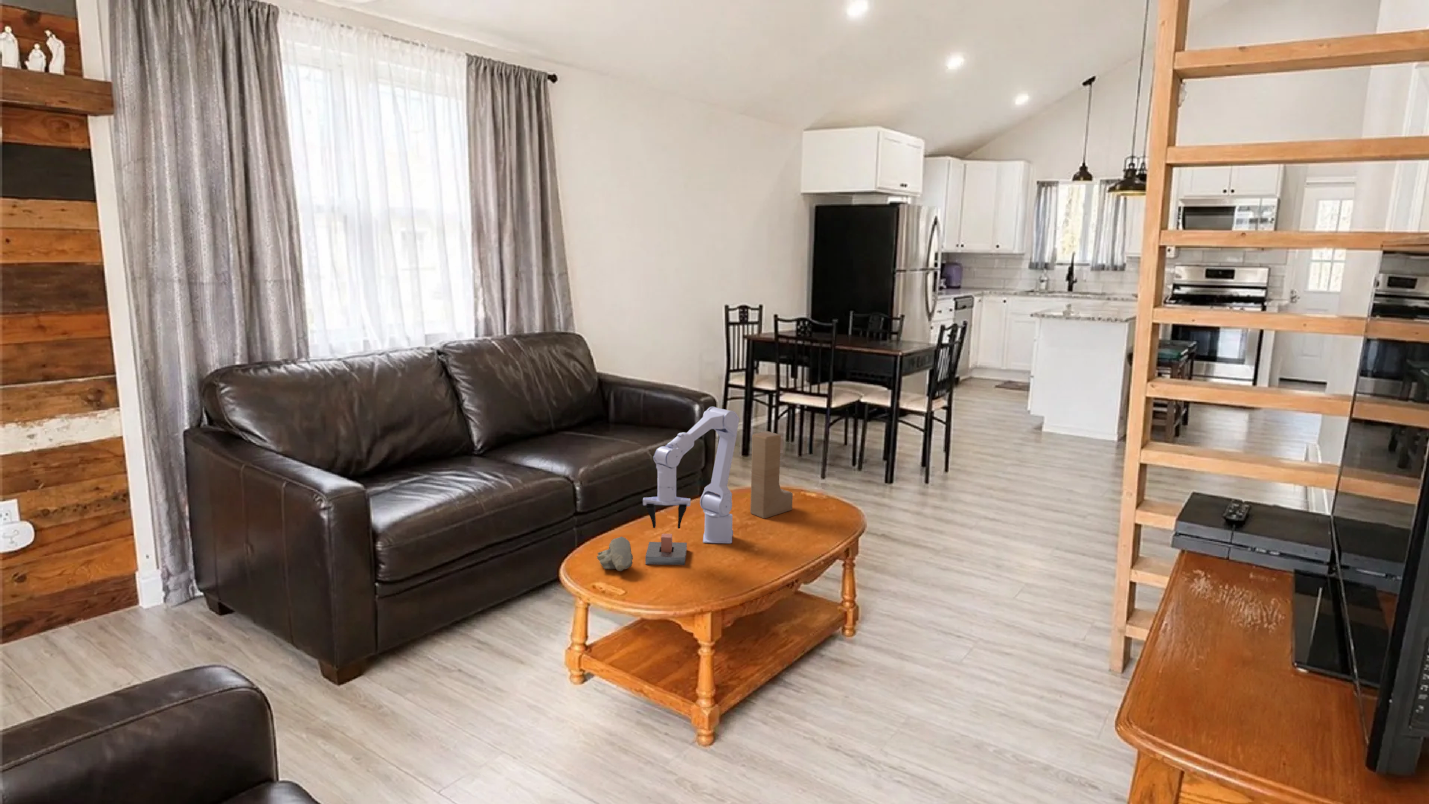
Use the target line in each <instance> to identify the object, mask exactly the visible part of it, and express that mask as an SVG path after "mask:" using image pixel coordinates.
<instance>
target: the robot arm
mask: <svg viewBox="0 0 1429 804" xmlns="http://www.w3.org/2000/svg"><path fill="white" fill-rule="evenodd" d="M739 423H740V417H739V416H738V414H737V412H736V411H735V410H729V409H724V408H720V407H716V406H709V407H708V408H707V409H706V410H705V411H704V412H703V415H702V417H701V418H700V419H699V420H698V422H696V423H695V424H694V425H693V426H692V427H691V428H690V429H689V430H688V431H687V432H679V433H677V435H676V437H674V438H673V439H672V440H671V441H670V442H668V443H667V444H665V446H664V445H663V446H659V447H658V448H656V450H655V452H654V454H653V456H652V459H653V461H654V463H655V469H656V470H657V496H651V497H647V496H646V497H643V498H642V506H646V508H645V509H646V511H647V513H648V515H649V517H650V521H651V525H652V529H656V527H657V525H656V524H657V521H656V520H657V519H656V506H678V507H677V510H678V511H677V518H678V519H677V529H681V523H682V521H683V518H684V515H685V513H686V511H687V509H688V508H687V507H691V498H687V497H680V496H677V467H678V466H679V464H680V462H681V459H682V458H683V457H684V455H685V454H686V453H688V452H689V451H690V450H692V448H693V447H694V446H695V441H697V440H698V439H699V438H701V437H702V436H703V435H705V434H706V433H707V432H709V431H710V430H714V431H715V432H716V433H717V435H718V438H719V439H718V445H717V450H716V455H715V459H714V465H713V470H712V475H711V479H710V480H711V481H710V483H709V484H707V485H706V486H705V487H704V490H703V492H702V494H701V496H700V499H699V506H700V507H701V509H702V510H703V512H702V513H704V533H703V536H702V537H703V538H702V543H704V544H733V536H734V530H733V514H732V513H730V512H731V511H732V507H733V500H732V498H733V497H732V496H733V493H732V492H731V490H730V488H729V487H728V483H729V478H730V472H731V469H732V463H733V462H732V461H733V457H734V453H735V452H734V451H735V446H736V441H737V435H738V430H739Z"/></svg>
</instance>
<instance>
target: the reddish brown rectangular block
mask: <svg viewBox="0 0 1429 804" xmlns="http://www.w3.org/2000/svg"><path fill="white" fill-rule="evenodd" d="M660 542H661V552H672V542H673V533H661V537H660Z"/></svg>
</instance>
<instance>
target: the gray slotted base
mask: <svg viewBox="0 0 1429 804" xmlns="http://www.w3.org/2000/svg"><path fill="white" fill-rule="evenodd" d="M687 544H688V543H687V542H674V541H672V552H661V541H648V546H647V549H646V554H645V559H644V561H645V562H644V563H645V565H660V566H661V565H662V566H663V565H665V566H666V565H667V566H685V565H686V558H687V550H688V547H687V546H688V545H687Z"/></svg>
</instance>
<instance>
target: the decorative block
mask: <svg viewBox="0 0 1429 804" xmlns="http://www.w3.org/2000/svg"><path fill="white" fill-rule="evenodd" d="M751 436H752V440H751V474H750V475H751V476H750V477H751V478H750V479H751V480H750V514H751V515H754V516H757V517H759V518H762V519H768V518H771V517H774V516H777V515H780V514H783V513H786V512H787V513H788V512H789V511H792V509H793V499H794V498H793V492H792V491H789V490H786V489H783V488H782V487H781V485H780V471H781V469H780V467H781V441H782V440H781V439H782V438H781V437H782V436H781V434H779V433H775V432H771V431H768V430H765V431H760V432H755V433H753V434H752V435H751Z"/></svg>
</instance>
